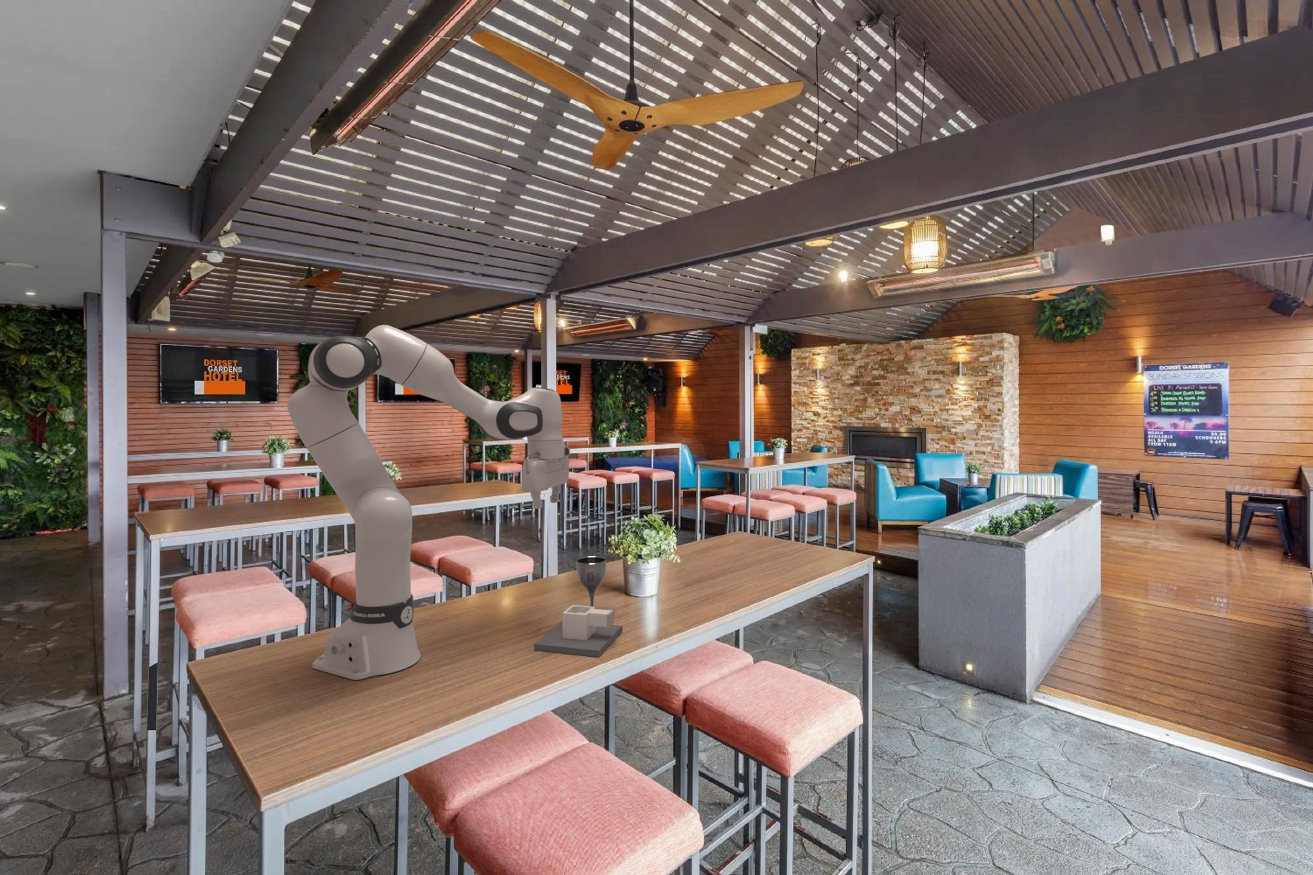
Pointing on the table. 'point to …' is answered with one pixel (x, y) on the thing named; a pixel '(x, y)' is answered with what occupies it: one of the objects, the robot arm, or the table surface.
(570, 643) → the base
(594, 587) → the wine glass
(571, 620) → the elbow
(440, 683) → the table surface
